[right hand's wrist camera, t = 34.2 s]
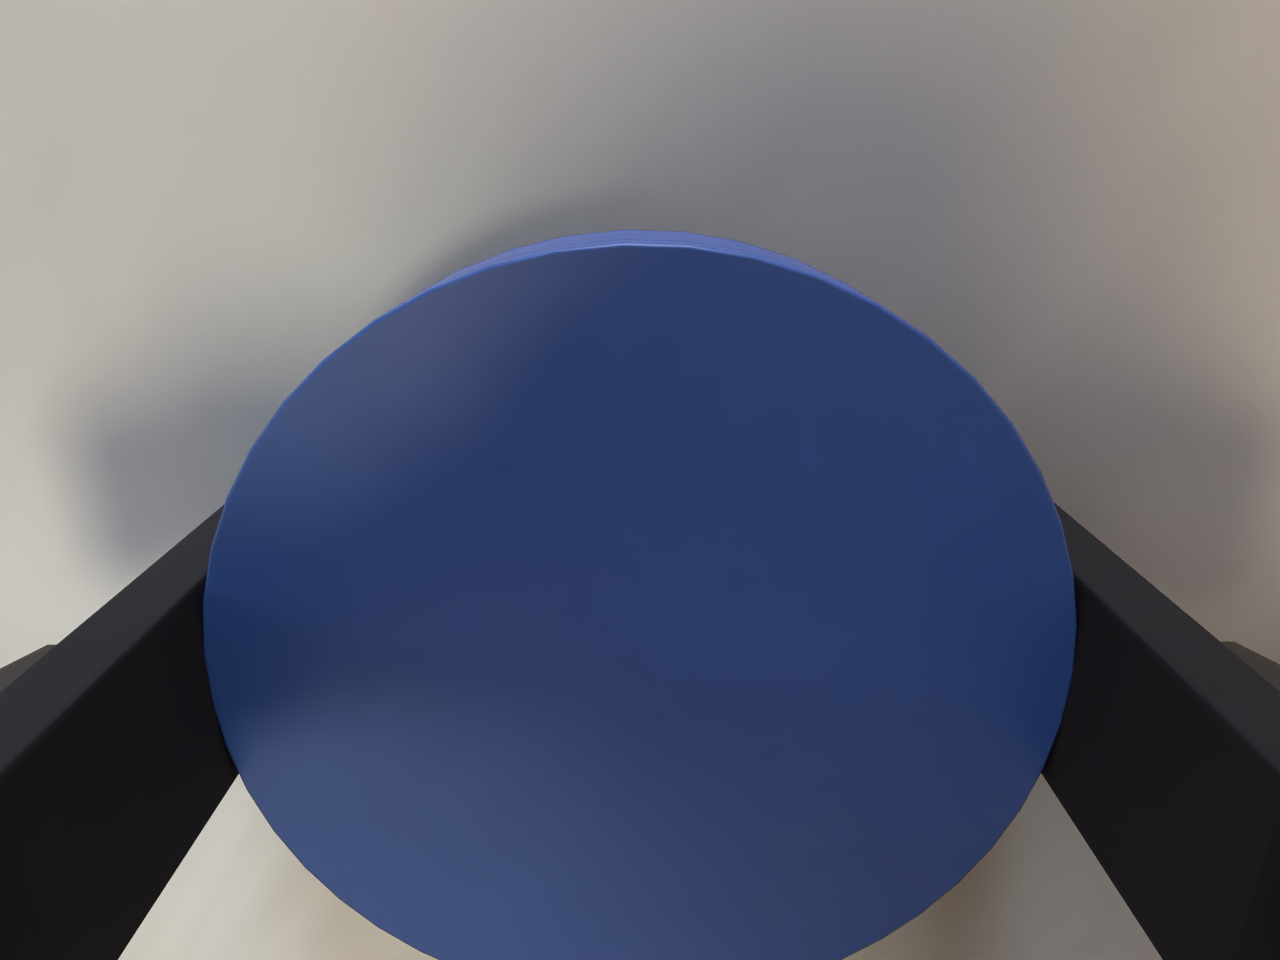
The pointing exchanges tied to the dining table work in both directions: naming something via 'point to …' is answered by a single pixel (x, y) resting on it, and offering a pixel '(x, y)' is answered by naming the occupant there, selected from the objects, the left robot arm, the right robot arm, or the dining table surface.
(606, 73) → the dining table surface
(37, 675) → the right robot arm
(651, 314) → the lid
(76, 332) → the dining table surface
